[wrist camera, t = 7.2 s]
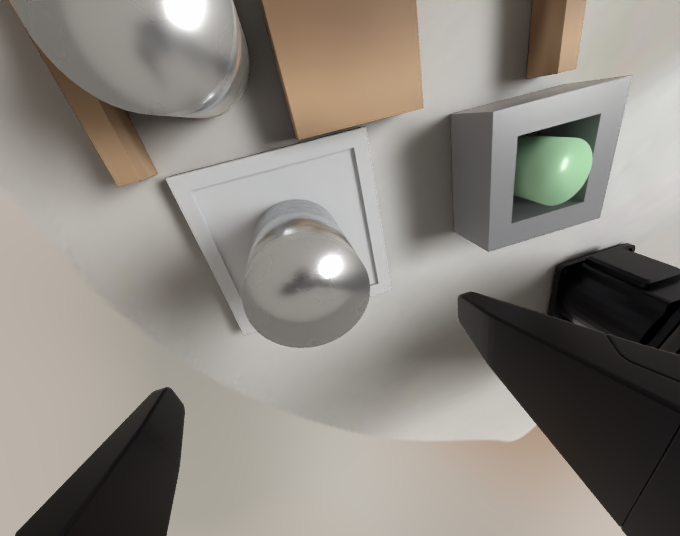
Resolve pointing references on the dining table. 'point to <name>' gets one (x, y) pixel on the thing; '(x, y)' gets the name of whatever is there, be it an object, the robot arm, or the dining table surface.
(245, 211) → the tray
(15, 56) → the dining table surface
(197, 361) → the dining table surface
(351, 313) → the loose steel billet
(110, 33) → the seated steel billet
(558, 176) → the button
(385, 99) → the frame
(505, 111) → the button housing
